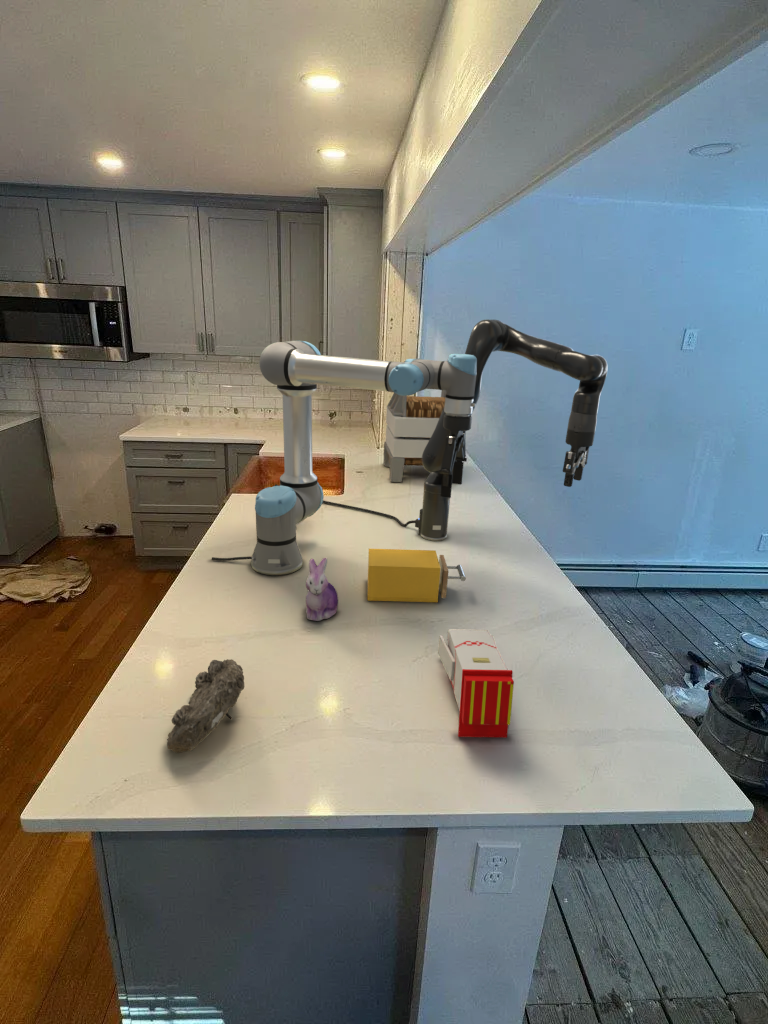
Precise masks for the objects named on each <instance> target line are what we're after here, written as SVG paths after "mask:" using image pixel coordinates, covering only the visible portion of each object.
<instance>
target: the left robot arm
mask: <svg viewBox="0 0 768 1024" xmlns="http://www.w3.org/2000/svg"><path fill="white" fill-rule="evenodd" d="M258 363H259V370H260V372H261V375H262V377H263V378H264V379H265V380H266V381H268V382H269V383H271V384H273V385H275V386H276V389H277V391H278V392H280V393H281V396H282V423H283V424H282V426H283V428H282V429H283V464H284V468H283V469H284V471H283V473H282V474H281V475H280V477H279V485H278V486H275V485H273V486H272V487H271V486H268V487H265V488H263V489H261V490H260V491H258V493H257V494H256V495H255V503H254V511H255V531H256V533H255V534H256V543H255V546H254V548H253V553H252V555H251V556H237V557H235V556H234V557H211V561H219V562H229V561H243V560H250V561H251V562H250V563H251V564H250V565H251V568H252V570H253V571H254V572H256V573H257V574H261V575H267V576H285V575H289V574H292V573H294V572H297V571H299V570H300V569H301V568H302V566H303V556H302V553H301V550H300V546H299V544H298V541H297V525H298V524H300V523H301V522H303V521H304V520H306V519H308V518H309V517H312V516H313V515H314V514H316V512H317V511H319V509H320V508H321V507H322V505H323V504H324V503H323V500H324V498H325V497H324V496H325V495H324V490H323V487H322V486H321V485H320V483H319V482H318V476H317V475H316V474H315V473H314V471H313V402H312V401H313V399H312V398H313V394H314V393H315V392H316V391H317V389H318V386H319V385H320V386H330V387H331V386H332V387H339V388H351V389H359V390H371V391H380V392H388V393H393V394H394V393H396V394H398V395H401V396H413V395H415V394H416V393H419V392H421V391H424V390H435V391H436V390H438V391H442V390H446V396H445V406H444V412H445V413H446V414H445V415H444V420H443V427H444V428H445V429H449V430H450V435H449V436H446V444H445V450H444V455H443V460H442V466H441V470H439V473H442V483H441V495H440V496H441V497H448V498H450V499H451V498H452V489H453V484H454V485H462V484H463V474H464V465H465V464H464V462H465V463H466V462H467V460H468V457H467V451H466V449H467V448H466V447H467V445H466V434H467V431H470V430H471V429H472V422H473V416H472V415H473V413H472V411H473V407H475V408H476V406H475V403H473V399H474V391H475V382H476V375H477V373H476V369H477V359H476V357H475V356H473V355H468V354H465V353H451V354H449V355H448V359H447V360H435V359H434V360H433V359H423V358H406V360H404V361H391V360H380V359H370V358H360V357H359V358H358V357H348V356H347V357H346V356H337V355H336V356H335V355H325V354H321V352H320V350H319V348H317V346H315V345H314V344H313V343H311V342H308V341H306V340H305V341H304V340H300V339H299V340H298V339H297V340H289V341H288V340H287V341H276V342H273V343H271V344H268V345H267V346H266V347H265V348H264V349H263V350H262V352H261V354H260V356H259V362H258ZM473 412H474V411H473ZM470 414H472V415H470ZM455 460H456V461H455ZM446 468H448V469H446ZM452 470H453V474H452Z"/></svg>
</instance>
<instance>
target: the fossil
mask: <svg viewBox="0 0 768 1024" xmlns="http://www.w3.org/2000/svg"><path fill="white" fill-rule="evenodd" d="M243 670H244V669H243V667H242V665H240V664H237V662H236V661H235V660H234V659H232V658H231V659H227V658H226V659H224V660H223V661H222V660H217V659H212V660H211V661H210V663H209V665H208V666H207V671H201V672H199V673H198V674H197V675H196V676H195V680H194V684H195V685H194V687H195V689H194V690H193V693H192V694H191V697H190V698H189V700H188V704H184V705H182V706H181V707H180V709H177V710H176V711H175V713H174V715H173V716H172V718H171V723H172V724H173V727H172V730H171V731H170V732H168V734H167V738H166V741H167V742H166V745H167V749H168V750H169V751H173V752H174V753H176V754H178V753H182V752H188V751H189V752H192V751H193V750H195V748H196V747H197V746H199V744H200V743H201V742H203V741H204V740H205V739H206V738H207V737H208V736H209V735H210V734H211V733H212V732H214V730H215V729H217V727H218V726H219V724H220V722H221V721H222V720H223V719H224V718H225V716H226V717H227V719H229V720H233V717H232V715H230V714H229V710H230V709H231V708H234V706H235V704H236V703H237V702H238V699H239V697H240V695H241V693H242V691H243V690H245V689H244V688H245V675H244V671H243Z"/></svg>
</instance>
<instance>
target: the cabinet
mask: <svg viewBox="0 0 768 1024" xmlns="http://www.w3.org/2000/svg"><path fill="white" fill-rule="evenodd" d="M367 556H368V557H367V558H368V559H367V562H368V563H367V601H370V602H373V601H374V602H404V603H405V602H407V603H409V602H410V603H438V601H439V593H440V589H439V580H440V564H439V557H438V554H437V550H433V549H432V550H431V549H401V548H397V549H395V548H368V555H367Z"/></svg>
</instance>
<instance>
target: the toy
mask: <svg viewBox="0 0 768 1024" xmlns="http://www.w3.org/2000/svg"><path fill="white" fill-rule="evenodd" d="M446 640H447V643H446V641H445V639H444V636H443V635H442V634H439V637H438V646H437V656H438V657H439V659H440V661H441V663H442V666H443V668H444V670H445V672H446V674H447V677H448V679H449V681H450V684H451V687H452V690H453V693H454V697H455V701H456V705H457V708H458V711H459V714H458V715H459V716H458V730H457V731H458V732H457V737H458V738H508V731H509V726H510V725H511V717H512V707H513V697H514V696H513V695H514V684H515V680H514V679H513V673H514V671H513V670H512V669H508V667H507V665H506V662H505V661H504V659H503V658H502V655H501V653H500V651H499V649H498V647H497V643H496V639H495V637H494V635H493V634H491V632H490V631H489V629H467V628H466V629H465V628H463V629H461V628H460V629H459V628H448V630H447V639H446Z"/></svg>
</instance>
